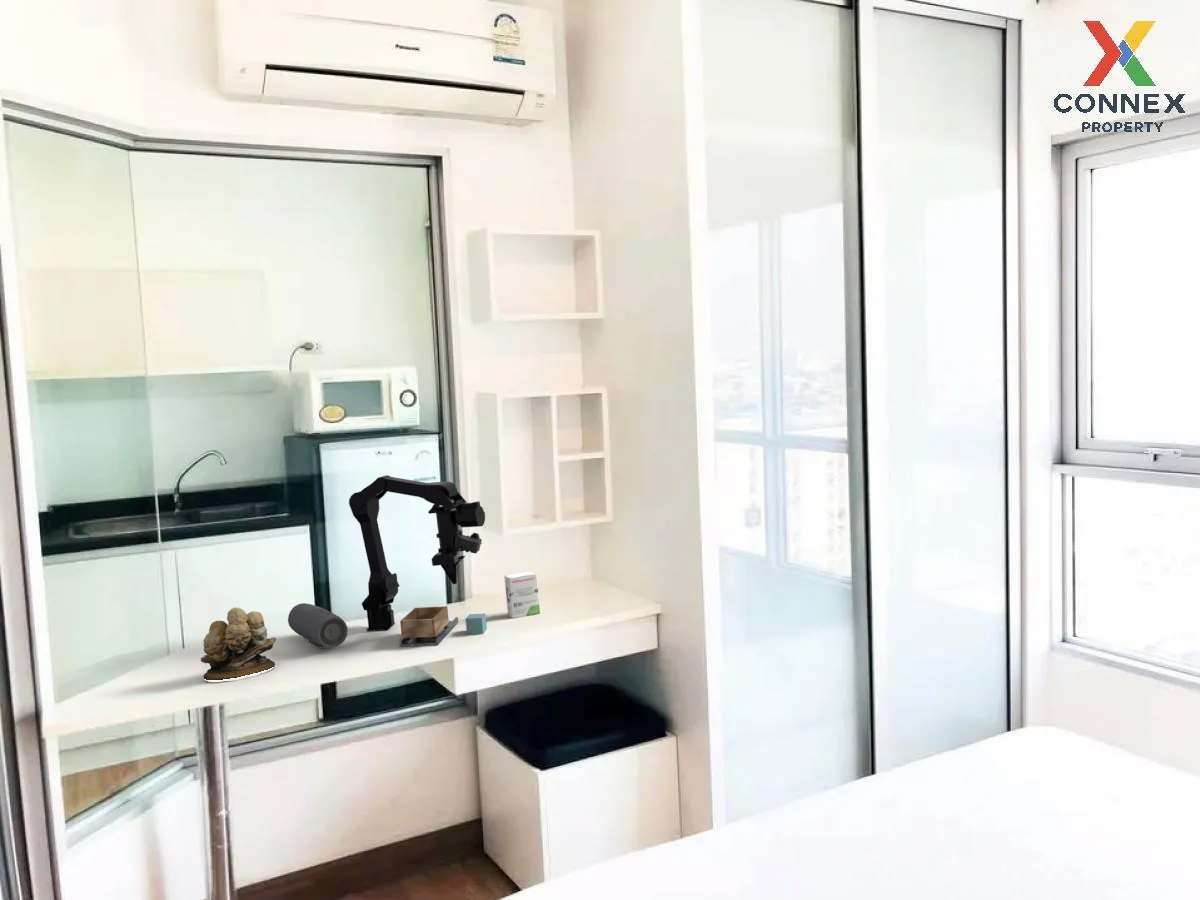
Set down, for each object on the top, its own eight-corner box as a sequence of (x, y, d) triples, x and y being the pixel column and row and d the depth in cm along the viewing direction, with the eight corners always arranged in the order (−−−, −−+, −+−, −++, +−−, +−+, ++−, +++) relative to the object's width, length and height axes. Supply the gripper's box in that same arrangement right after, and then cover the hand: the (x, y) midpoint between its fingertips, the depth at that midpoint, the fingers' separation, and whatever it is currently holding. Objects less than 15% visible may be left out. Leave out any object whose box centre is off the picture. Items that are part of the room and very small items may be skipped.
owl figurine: (275, 660, 252) (268, 596, 251) (282, 672, 242) (275, 605, 240) (201, 674, 244) (193, 608, 242) (205, 687, 234) (198, 618, 232)
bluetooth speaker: (352, 647, 258) (348, 611, 257) (318, 656, 253) (314, 619, 252) (320, 632, 276) (316, 598, 275) (288, 639, 271) (284, 605, 270)
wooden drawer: (402, 642, 256) (400, 620, 255) (417, 628, 269) (415, 607, 268) (435, 640, 255) (434, 619, 254) (449, 626, 268) (447, 606, 267)
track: (399, 646, 256) (399, 640, 255) (423, 624, 276) (422, 618, 276) (438, 645, 254) (437, 639, 254) (458, 622, 275) (458, 617, 275)
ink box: (535, 609, 283) (531, 570, 282) (540, 613, 278) (537, 573, 277) (507, 614, 280) (503, 574, 279) (512, 618, 275) (508, 578, 274)
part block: (467, 634, 262) (465, 618, 262) (470, 630, 267) (469, 614, 266) (483, 634, 262) (481, 617, 261) (486, 629, 266) (485, 613, 266)
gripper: (468, 531, 256) (475, 589, 257) (484, 519, 274) (490, 573, 275) (428, 535, 257) (435, 593, 258) (446, 523, 275) (452, 577, 277)
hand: (454, 583), depth 267 cm, fingers closed
